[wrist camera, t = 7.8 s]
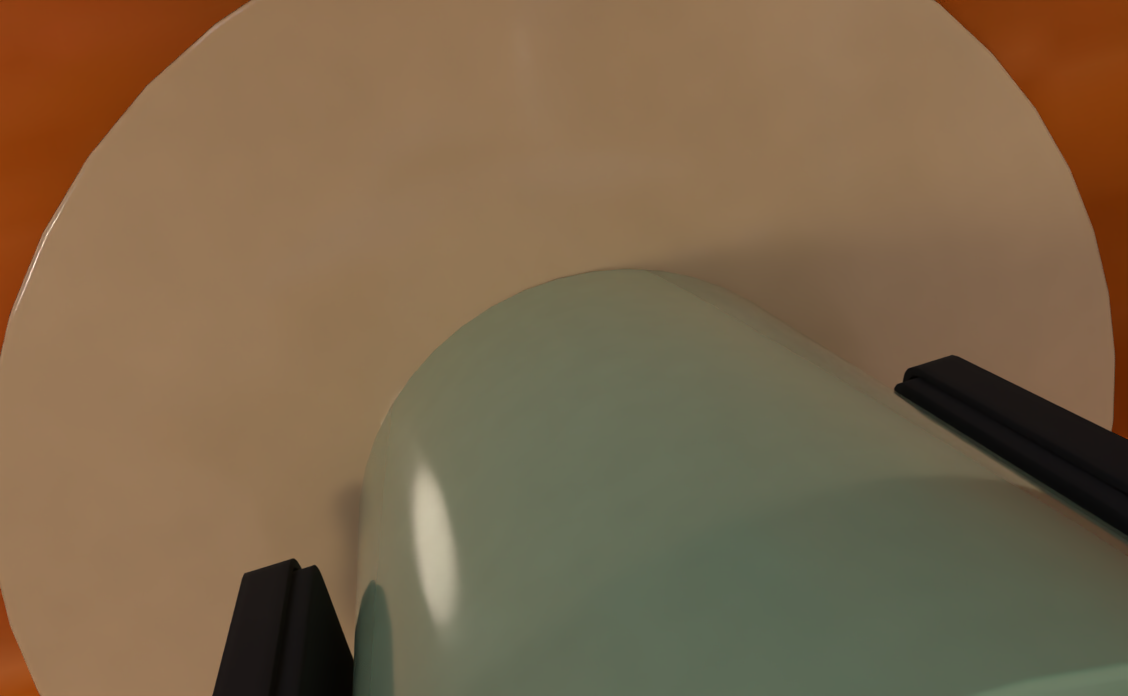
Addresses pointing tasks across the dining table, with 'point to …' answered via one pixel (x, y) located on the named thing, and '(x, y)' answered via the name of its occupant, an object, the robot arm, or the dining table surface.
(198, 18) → the dining table surface
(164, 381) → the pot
